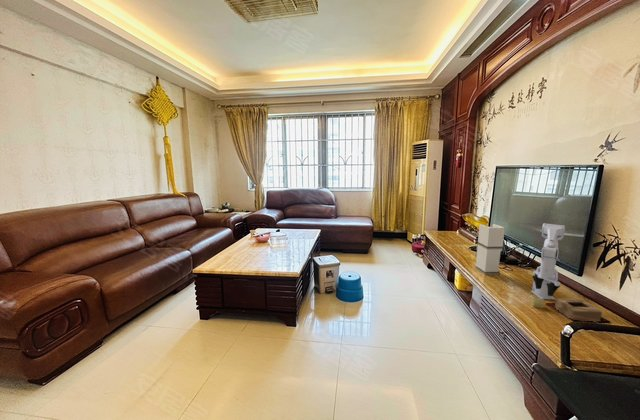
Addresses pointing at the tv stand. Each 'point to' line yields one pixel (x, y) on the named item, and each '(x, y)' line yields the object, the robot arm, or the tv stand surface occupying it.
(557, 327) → the tv stand surface
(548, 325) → the tv stand surface
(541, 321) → the tv stand surface
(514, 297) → the tv stand surface
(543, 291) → the robot arm
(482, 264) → the stacked grey cubes
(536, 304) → the block
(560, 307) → the box
